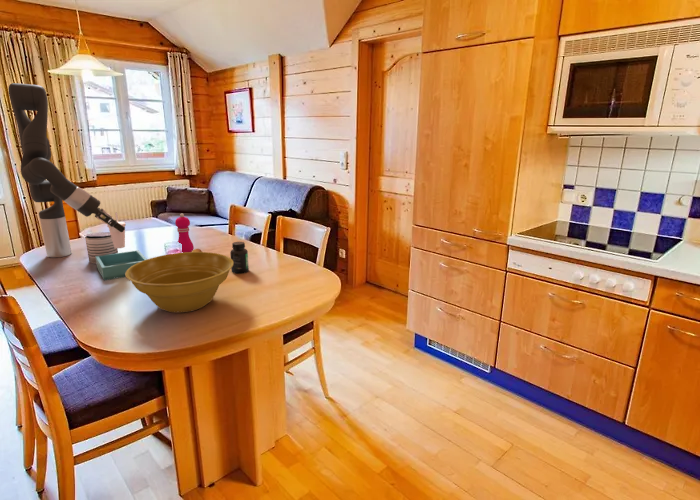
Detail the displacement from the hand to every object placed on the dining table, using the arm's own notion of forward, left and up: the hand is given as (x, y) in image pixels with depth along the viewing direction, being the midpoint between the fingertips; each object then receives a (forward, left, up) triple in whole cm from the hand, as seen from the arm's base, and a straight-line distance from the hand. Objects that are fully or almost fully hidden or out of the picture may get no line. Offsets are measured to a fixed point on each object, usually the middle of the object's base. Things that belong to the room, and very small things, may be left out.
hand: (121, 228), depth 164 cm
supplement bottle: (+28, +36, -17) cm, 49 cm away
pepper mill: (-4, +24, -17) cm, 30 cm away
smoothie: (0, -2, -8) cm, 8 cm away
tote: (0, -2, -17) cm, 17 cm away
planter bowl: (+49, +8, -17) cm, 53 cm away
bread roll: (+17, +22, -17) cm, 33 cm away
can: (-20, -6, -17) cm, 27 cm away
